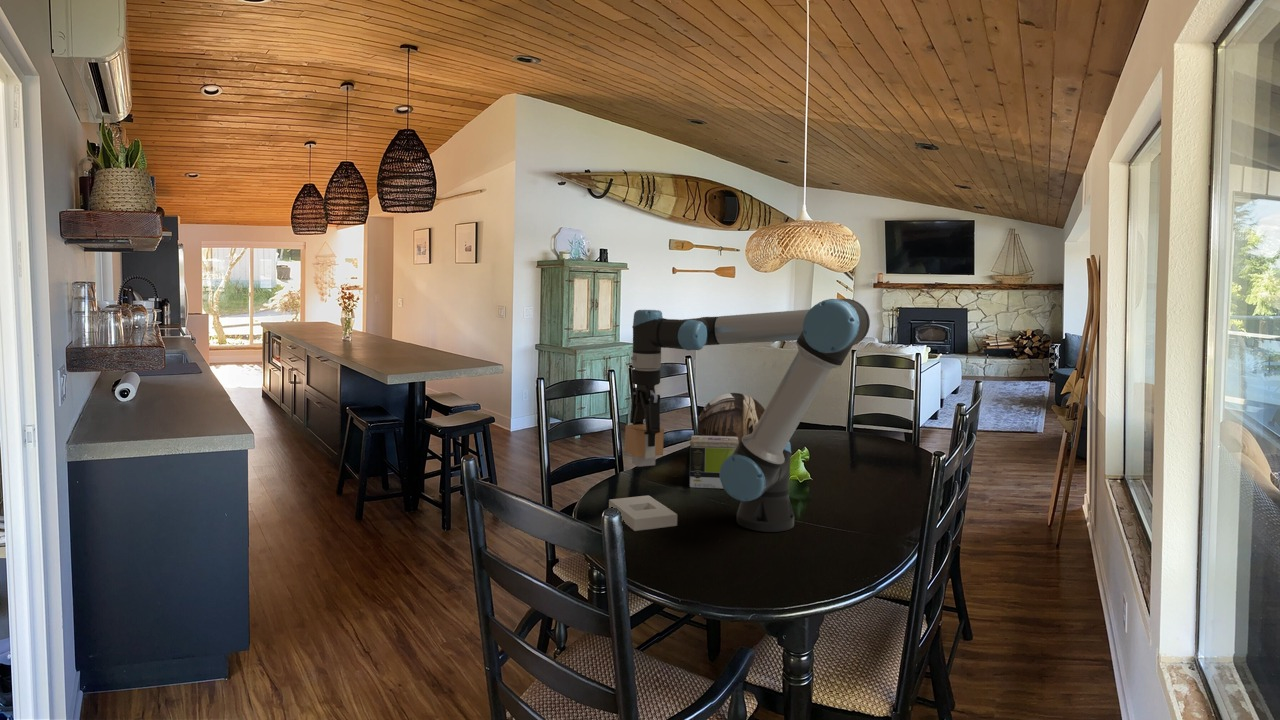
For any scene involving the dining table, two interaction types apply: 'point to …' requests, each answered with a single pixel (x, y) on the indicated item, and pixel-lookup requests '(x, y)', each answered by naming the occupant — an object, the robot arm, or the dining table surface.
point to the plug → (641, 444)
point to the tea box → (709, 459)
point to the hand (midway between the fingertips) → (643, 454)
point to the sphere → (730, 416)
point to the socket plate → (644, 513)
